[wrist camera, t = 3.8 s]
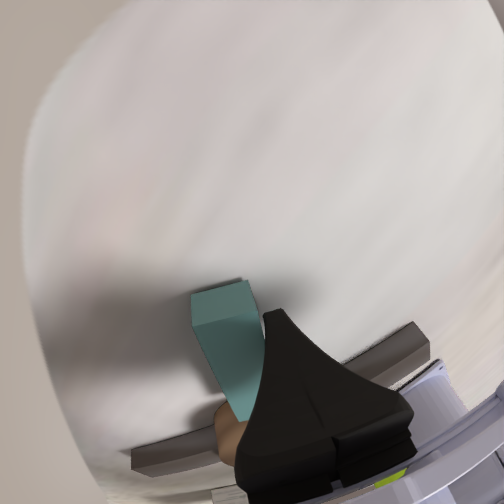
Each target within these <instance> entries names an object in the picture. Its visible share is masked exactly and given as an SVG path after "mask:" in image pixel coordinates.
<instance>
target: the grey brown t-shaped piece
mask: <svg viewBox="0 0 504 504" xmlns="http://www.w3.org/2000/svg"><path fill="white" fill-rule="evenodd" d="M429 360H430V341H429V340H428V339H427V337H426V336H425V335H424V334H423V332H422V331H421V330H420V329H419V328H418V326H417V325H416V324H415V323H414V321H413V322H412V323H410V324H409V325H408V326H406V327H405V328H403V329H402V330H400V331H399V332H397V333H396V334H394V335H393V336H391V337H389V338H388V339H386V340H385V341H383V342H382V343H380V344H378V345H377V346H375V347H374V348H372V349H370V350H369V351H367V352H365V353H364V354H362V355H360V356H359V357H357V358H355V359H354V360H352V361H350V362H348V363H347V364H345V365H343V366H345V367H346V368H348V369H349V370H351V371H353V372H355V373H357V374H358V375H360V376H362V377H364V378H366V379H368V380H370V381H372V382H374V383H376V384H378V385H381V386H383V387H386V388H388V387H390V386H391V385H393V384H394V383H396V382H398V381H399V380H401V379H402V378H404V377H405V376H407V375H408V374H410V373H411V372H413V371H414V370H416V369H417V368H419V367H420V366H422V365H423V364H424V363H426V362H427V361H429ZM248 421H249V420H246V421H242V422H239V421H238V419H237V417H236V416H235V414H234V412H233V410H232V408H231V406H230V404H229V402H228V401H227V402H226V403H224V404H223V405H222V406H221V407H220V408H219V409H218V410H217V411H216V413H215V416H214V424H215V425H212V426H209V427H206V428H203V429H200V430H197V431H194V432H191V433H188V434H185V435H182V436H179V437H176V438H172V439H169V440H166V441H162V442H159V443H155V444H151V445H148V446H144V447H140V448H136V449H132V450H131V470H134V471H136V472H139V473H142V474H144V475H147V476H150V477H158V476H163V475H168V474H173V473H178V472H182V471H187V470H191V469H195V468H199V467H203V466H207V465H210V464H214V463H218V462H221V461H222V462H223V463H225V464H227V465H230V466H233V467H234V463H235V455H236V449H237V445H238V443H239V441H240V439H241V437H242V435H243V433H244V431H245V428H246V426H247V423H248Z"/></svg>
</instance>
